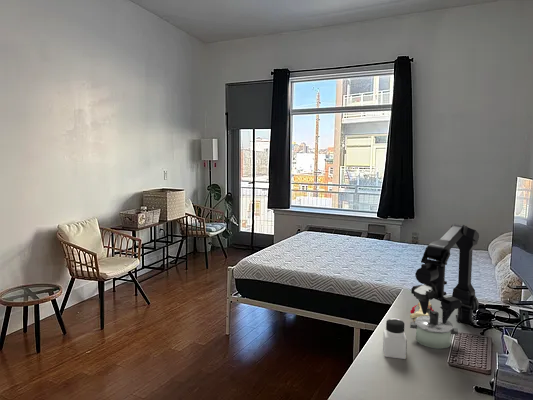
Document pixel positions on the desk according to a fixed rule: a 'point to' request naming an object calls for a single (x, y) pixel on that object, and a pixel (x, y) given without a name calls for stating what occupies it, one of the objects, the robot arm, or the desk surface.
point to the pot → (433, 337)
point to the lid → (433, 323)
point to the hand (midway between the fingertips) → (434, 318)
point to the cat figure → (419, 313)
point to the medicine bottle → (394, 339)
